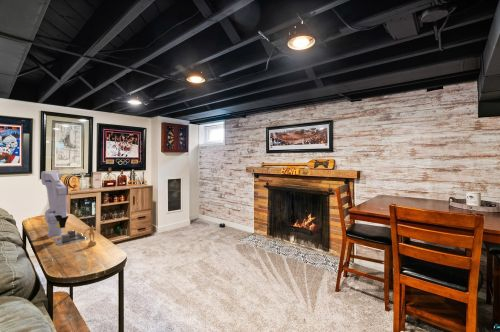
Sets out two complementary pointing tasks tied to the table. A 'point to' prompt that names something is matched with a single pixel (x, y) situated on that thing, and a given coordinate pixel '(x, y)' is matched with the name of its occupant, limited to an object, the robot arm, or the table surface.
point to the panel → (71, 239)
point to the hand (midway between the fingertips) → (61, 226)
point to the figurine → (92, 242)
